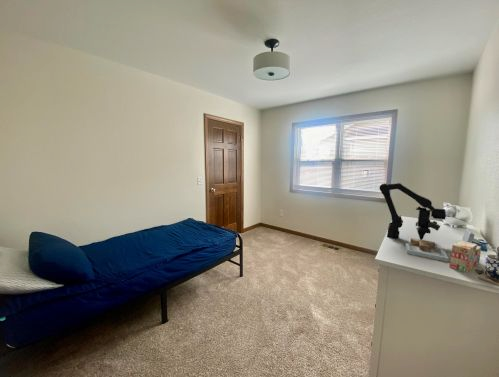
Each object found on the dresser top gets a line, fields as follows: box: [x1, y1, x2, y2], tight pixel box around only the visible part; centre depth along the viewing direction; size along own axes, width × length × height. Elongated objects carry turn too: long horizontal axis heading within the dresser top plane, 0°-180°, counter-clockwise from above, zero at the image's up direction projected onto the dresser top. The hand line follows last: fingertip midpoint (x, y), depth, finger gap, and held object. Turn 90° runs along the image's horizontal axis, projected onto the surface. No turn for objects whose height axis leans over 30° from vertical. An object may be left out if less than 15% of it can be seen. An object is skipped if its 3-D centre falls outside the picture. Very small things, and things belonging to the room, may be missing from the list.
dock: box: [405, 242, 450, 263], centre depth 123 cm, size 18×14×2 cm
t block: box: [409, 237, 436, 252], centre depth 132 cm, size 12×12×3 cm
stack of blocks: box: [449, 240, 482, 274], centre depth 109 cm, size 21×6×12 cm, turn 121°
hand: (421, 239), depth 142 cm, fingers closed
